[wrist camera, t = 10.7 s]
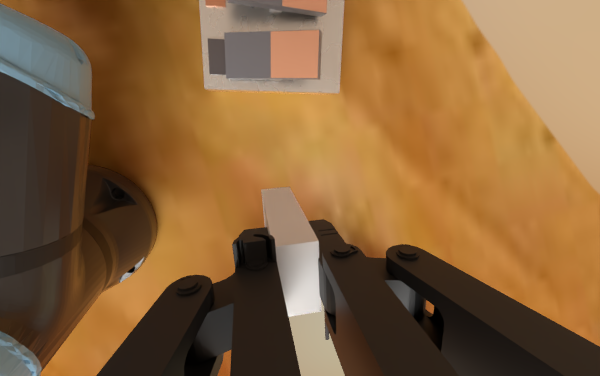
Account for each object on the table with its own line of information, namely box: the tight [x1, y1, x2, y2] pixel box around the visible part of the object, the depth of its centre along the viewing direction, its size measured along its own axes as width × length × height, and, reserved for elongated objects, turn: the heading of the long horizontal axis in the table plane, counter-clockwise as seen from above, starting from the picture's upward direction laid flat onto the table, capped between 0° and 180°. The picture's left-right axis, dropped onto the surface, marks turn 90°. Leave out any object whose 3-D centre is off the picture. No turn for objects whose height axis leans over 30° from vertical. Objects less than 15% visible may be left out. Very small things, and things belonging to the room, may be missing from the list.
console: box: [199, 0, 344, 94], centre depth 31 cm, size 14×18×5 cm
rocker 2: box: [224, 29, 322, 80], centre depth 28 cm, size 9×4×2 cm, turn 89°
